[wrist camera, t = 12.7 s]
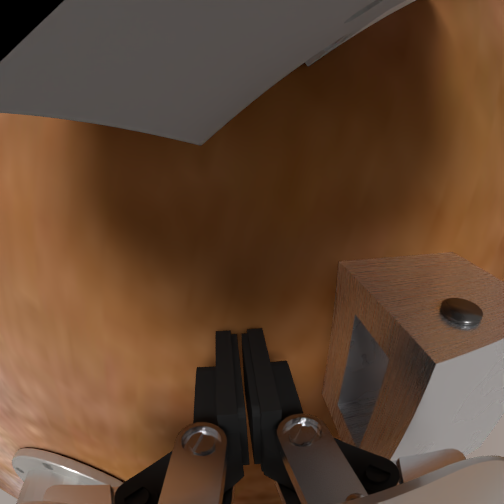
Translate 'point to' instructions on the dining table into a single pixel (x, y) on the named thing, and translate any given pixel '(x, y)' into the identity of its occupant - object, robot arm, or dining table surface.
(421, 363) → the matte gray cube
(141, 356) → the dining table surface
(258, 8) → the circuit breaker
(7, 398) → the dining table surface
